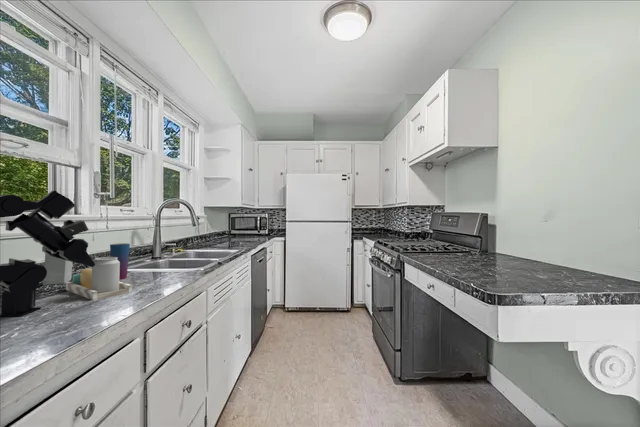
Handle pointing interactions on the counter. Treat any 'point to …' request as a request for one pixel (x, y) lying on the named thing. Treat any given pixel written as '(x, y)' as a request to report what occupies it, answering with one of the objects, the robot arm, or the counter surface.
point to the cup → (121, 257)
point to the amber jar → (86, 277)
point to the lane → (93, 294)
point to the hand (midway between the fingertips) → (87, 264)
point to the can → (105, 274)
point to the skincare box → (57, 270)
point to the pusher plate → (76, 279)
